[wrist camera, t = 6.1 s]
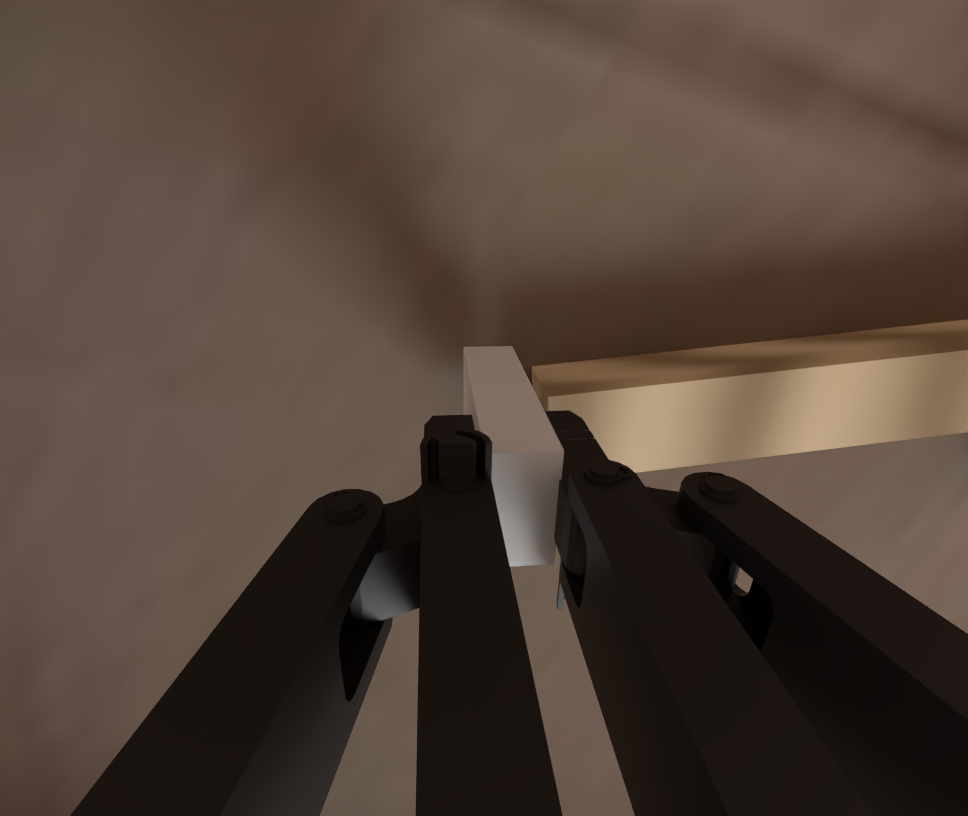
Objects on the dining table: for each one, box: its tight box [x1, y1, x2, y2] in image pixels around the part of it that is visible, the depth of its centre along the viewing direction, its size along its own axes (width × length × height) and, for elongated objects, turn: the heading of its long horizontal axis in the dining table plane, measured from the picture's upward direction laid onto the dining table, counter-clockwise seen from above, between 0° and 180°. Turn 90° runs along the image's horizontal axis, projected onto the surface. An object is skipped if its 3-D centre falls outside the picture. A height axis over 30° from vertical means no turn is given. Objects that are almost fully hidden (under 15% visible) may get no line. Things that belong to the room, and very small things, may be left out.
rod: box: [532, 319, 968, 473], centre depth 18 cm, size 25×3×3 cm, turn 94°
